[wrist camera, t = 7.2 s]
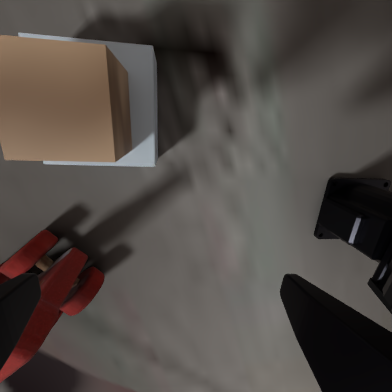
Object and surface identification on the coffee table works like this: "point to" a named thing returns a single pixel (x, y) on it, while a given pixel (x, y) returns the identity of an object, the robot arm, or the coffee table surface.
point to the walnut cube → (62, 101)
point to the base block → (131, 100)
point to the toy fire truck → (49, 292)
